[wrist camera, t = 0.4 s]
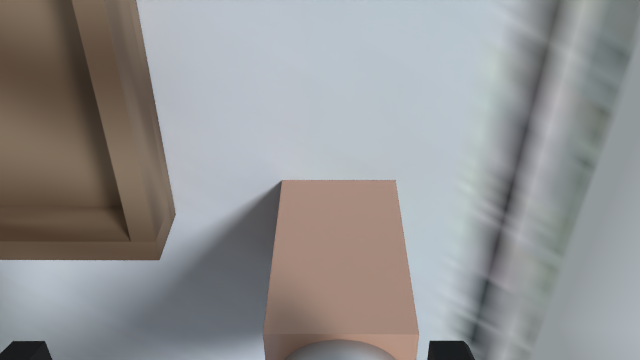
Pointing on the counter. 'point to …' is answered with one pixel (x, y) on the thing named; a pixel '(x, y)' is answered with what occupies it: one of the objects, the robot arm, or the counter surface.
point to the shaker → (340, 274)
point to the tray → (79, 135)
